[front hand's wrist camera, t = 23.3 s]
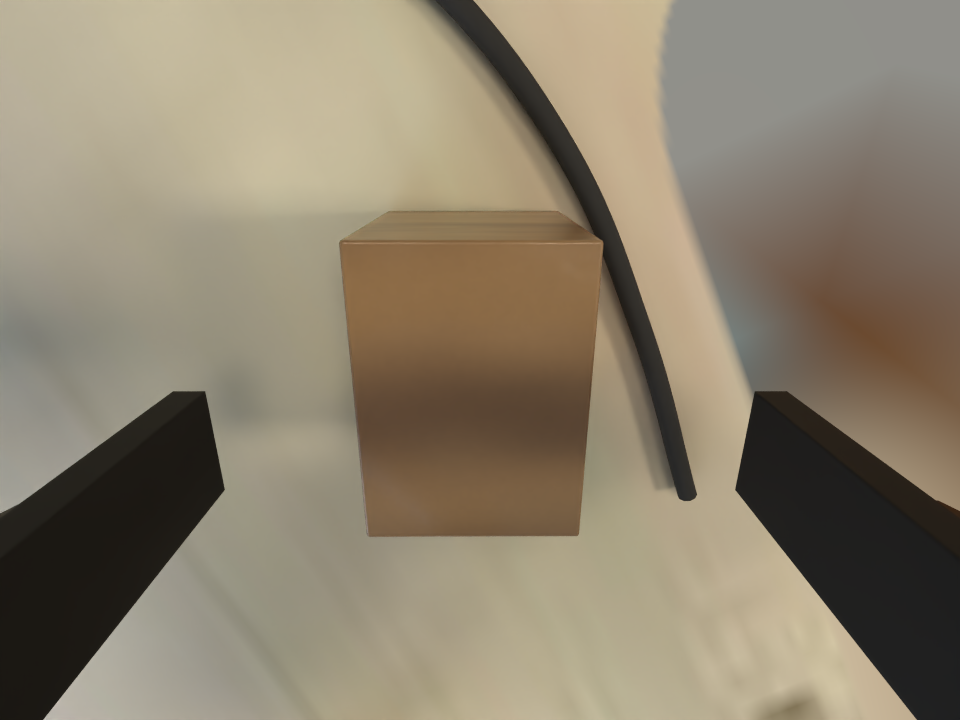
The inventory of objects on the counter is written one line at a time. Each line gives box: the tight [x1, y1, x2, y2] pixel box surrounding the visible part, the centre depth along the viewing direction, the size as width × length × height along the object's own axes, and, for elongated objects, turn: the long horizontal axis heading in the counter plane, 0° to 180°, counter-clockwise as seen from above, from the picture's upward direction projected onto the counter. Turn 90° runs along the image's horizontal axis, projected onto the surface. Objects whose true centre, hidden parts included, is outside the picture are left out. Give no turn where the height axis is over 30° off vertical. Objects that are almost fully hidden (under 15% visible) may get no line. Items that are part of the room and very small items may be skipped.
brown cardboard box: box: [339, 211, 603, 537], centre depth 17 cm, size 9×6×7 cm
